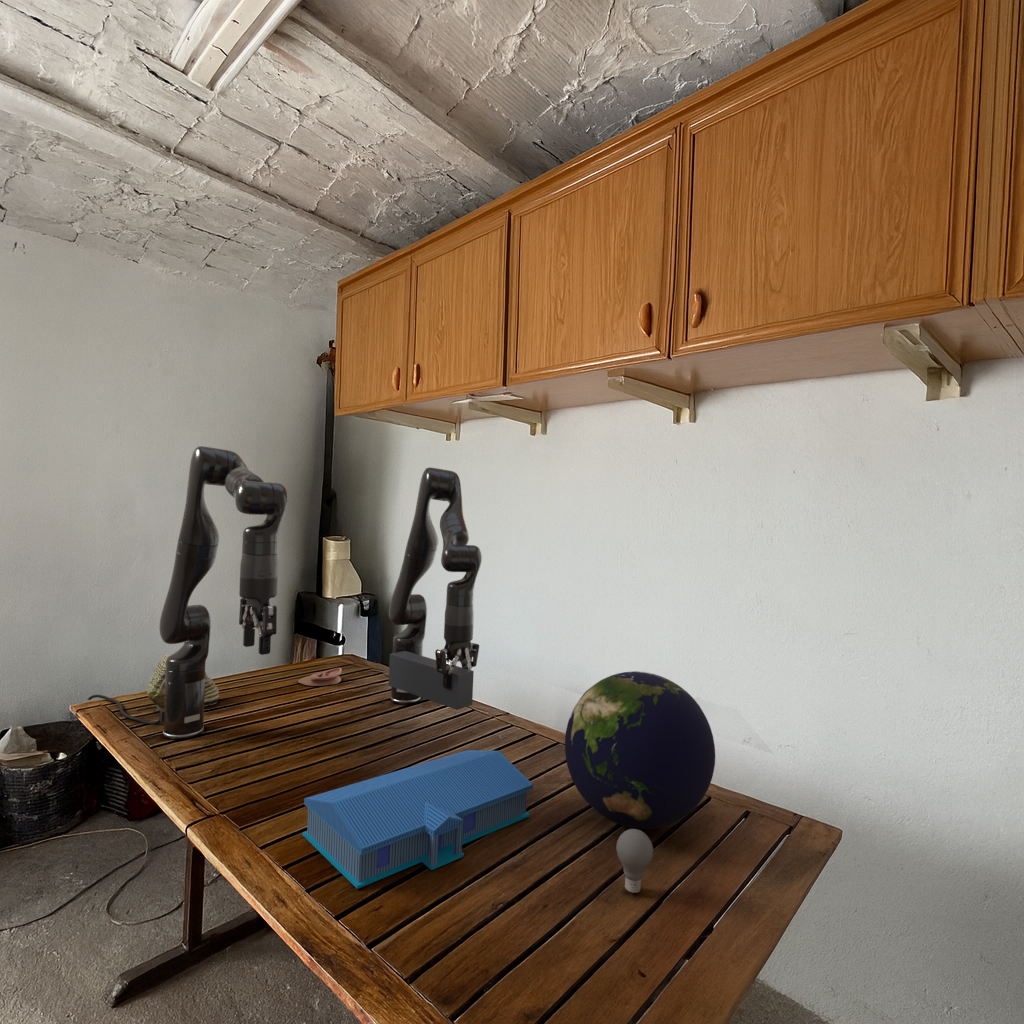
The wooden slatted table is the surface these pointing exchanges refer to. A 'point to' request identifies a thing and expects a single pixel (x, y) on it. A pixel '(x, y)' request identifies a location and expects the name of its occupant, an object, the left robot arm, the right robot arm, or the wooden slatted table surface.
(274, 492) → the left robot arm
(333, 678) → the anatomical model
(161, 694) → the fossil
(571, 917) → the wooden slatted table surface
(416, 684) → the bar
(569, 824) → the wooden slatted table surface
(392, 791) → the model building
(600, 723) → the globe
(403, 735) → the wooden slatted table surface
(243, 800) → the wooden slatted table surface
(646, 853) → the light bulb
